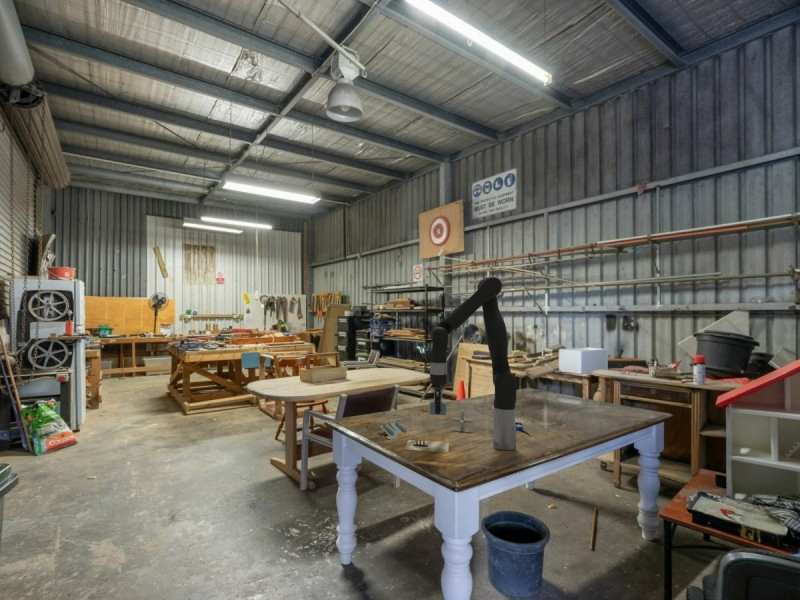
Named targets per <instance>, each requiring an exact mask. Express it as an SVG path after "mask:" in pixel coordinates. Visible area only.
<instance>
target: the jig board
mask: <svg viewBox="0 0 800 600" xmlns="http://www.w3.org/2000/svg"><path fill="white" fill-rule="evenodd" d="M406 443H407V444H406V446H405V447H404V450H408V451H421V452H422V451H424V452H426V451H427V452H437V453H439V452H440V453H449V447H450V446H449V445H450V442H448V441H434V440H426V439H423V440H422V439H413V440H412V439H408V440H407V442H406Z"/></svg>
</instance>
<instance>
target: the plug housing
mask: <svg viewBox="0 0 800 600" xmlns="http://www.w3.org/2000/svg"><path fill="white" fill-rule="evenodd" d="M434 402H435V400H430V402H429V415H433V416H447V401H445V400H444V401H443V400H442V401H441V413H440V414H436V413H435V403H434ZM437 402H439V401H437Z"/></svg>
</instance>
